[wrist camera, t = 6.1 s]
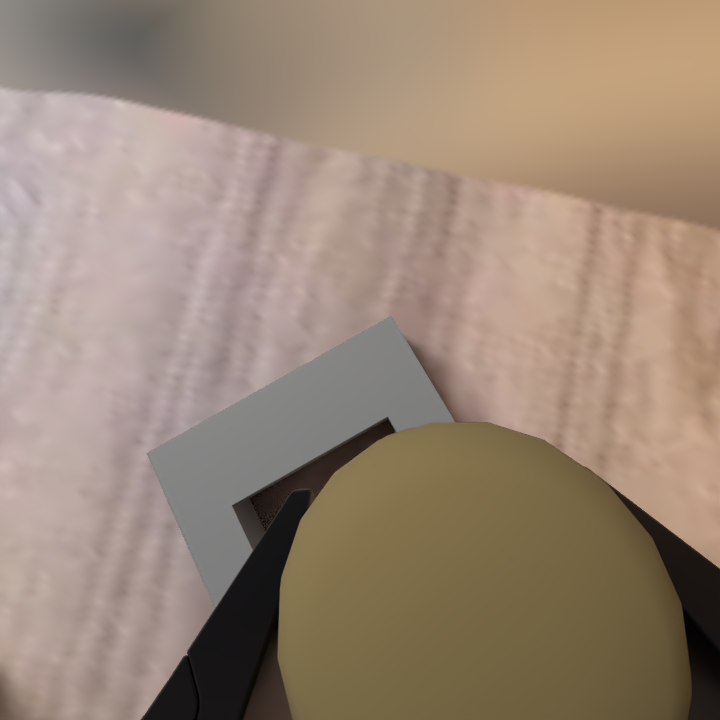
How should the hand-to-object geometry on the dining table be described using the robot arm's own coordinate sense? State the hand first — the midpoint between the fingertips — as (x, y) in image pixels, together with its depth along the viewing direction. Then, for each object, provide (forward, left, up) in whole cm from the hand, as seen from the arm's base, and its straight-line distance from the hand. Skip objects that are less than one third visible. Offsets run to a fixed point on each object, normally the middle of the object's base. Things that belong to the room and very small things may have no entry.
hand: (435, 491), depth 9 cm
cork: (-1, 0, -7) cm, 7 cm away
